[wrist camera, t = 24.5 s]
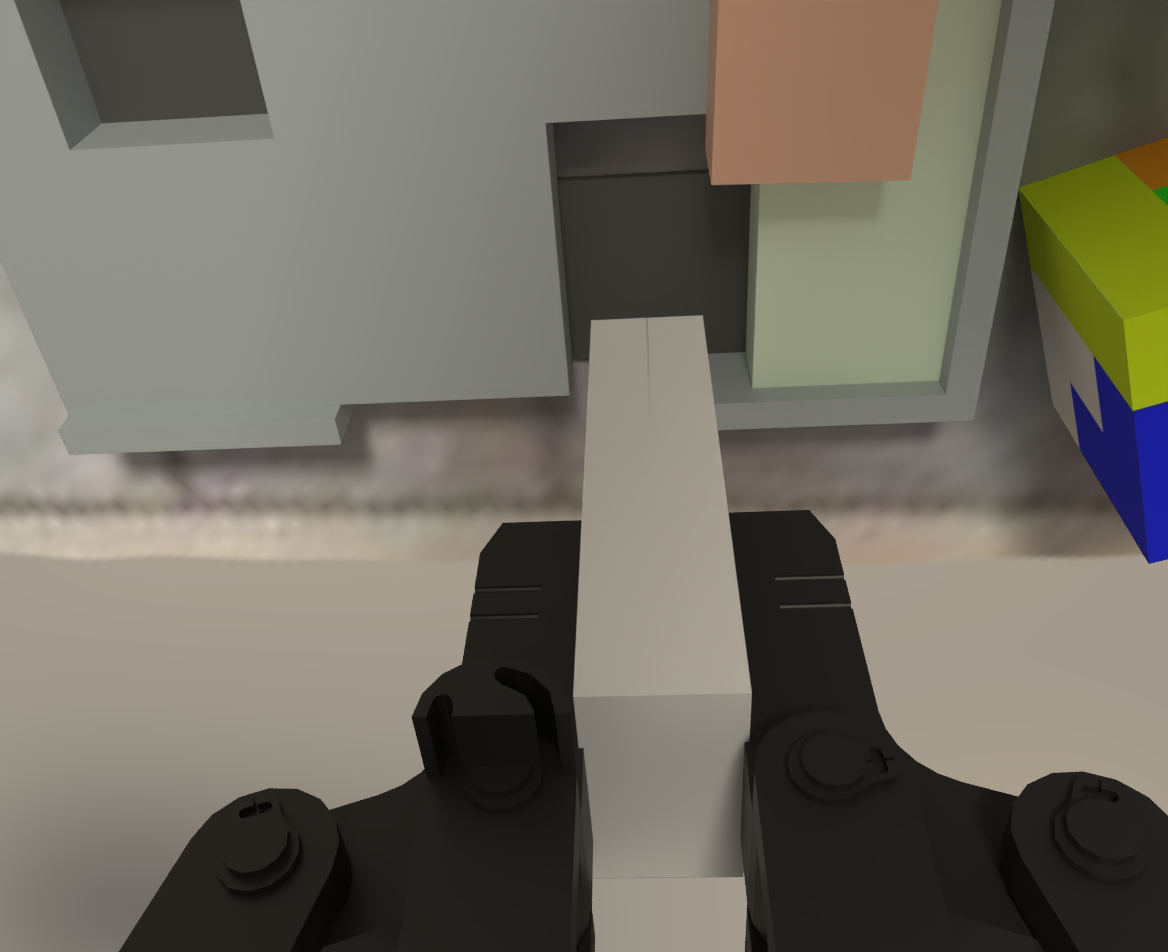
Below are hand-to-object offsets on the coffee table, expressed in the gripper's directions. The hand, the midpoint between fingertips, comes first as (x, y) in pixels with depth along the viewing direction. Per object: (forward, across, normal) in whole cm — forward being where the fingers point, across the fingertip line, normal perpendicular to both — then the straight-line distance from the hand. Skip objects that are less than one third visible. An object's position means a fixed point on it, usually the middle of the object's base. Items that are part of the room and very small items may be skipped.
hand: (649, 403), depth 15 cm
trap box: (+24, -6, -4) cm, 26 cm away
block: (+21, +5, -1) cm, 22 cm away
